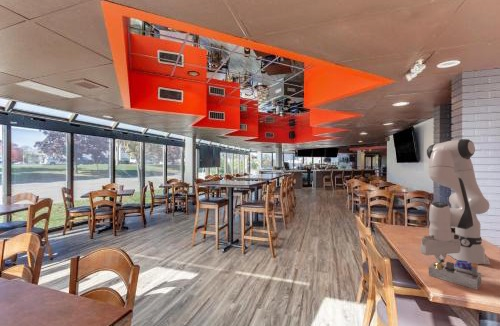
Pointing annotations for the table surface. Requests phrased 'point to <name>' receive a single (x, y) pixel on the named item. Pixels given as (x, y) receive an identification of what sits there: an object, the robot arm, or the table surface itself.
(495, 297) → the table surface
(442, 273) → the panel
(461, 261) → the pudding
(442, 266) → the button brass
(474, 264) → the slider
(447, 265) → the button slate
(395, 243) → the table surface
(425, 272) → the table surface
